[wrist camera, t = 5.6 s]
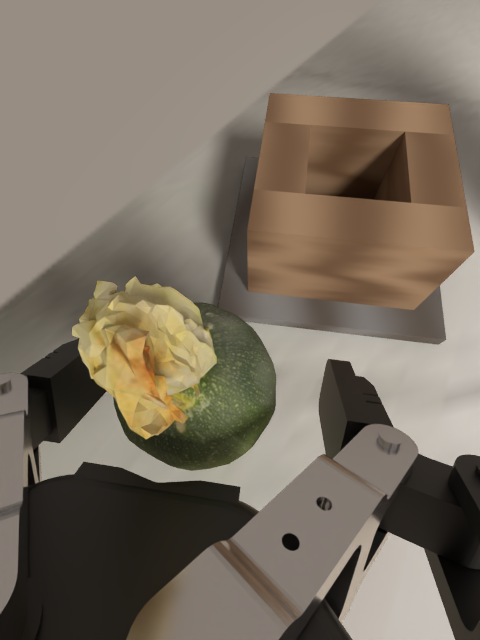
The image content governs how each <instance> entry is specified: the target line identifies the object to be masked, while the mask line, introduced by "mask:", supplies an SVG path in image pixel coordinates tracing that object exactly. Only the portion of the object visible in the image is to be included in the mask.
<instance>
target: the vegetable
mask: <svg viewBox="0 0 480 640" xmlns="http://www.w3.org/2000/svg"><path fill="white" fill-rule="evenodd" d="M117 287H118V286H117V285H116V284H114V283H113V282H105V281H97V285H96V289H95V291H94V293H93V294H94V298H93V299H89V305H88V306H87V308H86V310H85V313H84V314H83V315H82V316H81V317H79V321H80V323H78V324H76V325H75V326H73V327H72V336H75V337H78V338H79V344H78V350H79V352H80V355H81V358H82V361H83V363H84V364H85V365H86V366H87V367H88V369H89V372H90V376H91V379H94V381H95V382H96V383H97V384H98V385H99V386H101V387H102V388H104V389H105V390H106V391H108V392H109V393H110V394H111V395H112V396H113V398H114V405H115V409H116V412H117V416H118V418H119V421H120V423H121V426H122V428H123V430H124V433H125V435H126V436H127V437H128V439H129V440H130V441H131V442H132V443H134V444H135V445H136V446H137V447H139V448H140V449H142V450H143V451H145V452H147V453H148V454H150V455H152V456H153V457H155V458H156V459H158V460H160V461H162V462H164V463H166V464H168V465H170V466H173V467H176V468H180V469H186V470H191V471H192V470H201V469H209V468H213V467H218V466H222V465H226V464H229V463H231V462H233V461H234V460H236V459H237V458H239V457H240V456H242V455H243V454H245V453H246V452H247V451H248V450H249V449H250V448H251V447H253V445H254V444H255V442H256V441H257V440H258V438H259V437H260V435H261V434H262V432H263V431H264V429H265V428H266V426H267V425H268V423H269V421H270V419H271V417H272V415H273V413H274V411H275V406H276V373H275V369H274V365H273V362H272V360H271V358H270V356H269V354H268V352H267V350H266V348H265V346H264V344H263V343H262V341H261V339H260V337H259V336H258V335H257V333H256V332H255V331H254V329H253V328H252V327H251V326H249V325H248V324H247V323H246V322H245V321H243V320H242V319H241V318H240V317H239V316H237V315H235V314H234V313H231V312H229V311H226V310H224V309H221V308H218V307H216V306H213V305H210V304H207V303H193V302H192V301H190V300H189V299H187V298H186V297H185V296H183V295H182V294H180V293H179V292H178V291H177V290H175V289H173V288H171V287H161V286H160V285H159V284H158V283H157V284H153V285H144V284H140V282H139V281H138V279H137V278H136V276H135V277H133V278H132V279H131V280H129V281H128V282H127V284H126V287H125V291H121V292H117V293H116V290H117Z"/></svg>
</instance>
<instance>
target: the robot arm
mask: <svg viewBox="0 0 480 640" xmlns="http://www.w3.org/2000/svg"><path fill="white" fill-rule="evenodd" d="M78 344H79V338H78V339H77V340H74V341H71V342H69V343H66V344H63V345H62V346H60V347H59V348H57V349H56V350H54V351H53V353H50V354H48V355H47V356H46V357H45V358H43V359H41V360H40V361H38V362H37V363H35V364H34V365H32V366H31V367H29V368H28V369H26V370H25V371H24V372H22V373H21V374H18V373H3V374H0V640H352V638H351V637H350V635H349V634H348V633H347V631H346V630H345V628H344V627H343V625H342V622H343V620H344V618H345V617H346V615H347V613H348V611H349V609H350V606H351V604H352V602H353V600H354V597H355V595H356V593H357V591H358V589H359V587H360V585H361V583H362V581H363V579H364V578H365V576H366V574H367V572H368V571H369V569H370V567H371V566H372V564H373V562H374V560H375V559H376V557H377V555H378V553H379V552H380V550H381V548H382V547H383V545H384V543H385V541H386V540H387V538H388V536H389V535H390V533H392V534H394V535H396V536H398V537H401V538H403V539H405V540H407V541H409V542H412V543H414V544H416V545H418V546H420V547H423V548H424V550H425V553H426V555H427V558H428V561H429V564H430V567H431V570H432V573H433V576H434V579H435V582H436V585H437V588H438V591H439V593H440V596H441V599H442V602H443V605H444V608H445V611H446V614H447V617H448V620H449V623H450V626H451V629H452V631H453V634H454V637H455V640H480V456H476V455H461V456H459V457H458V458H457V459H456V461H455V463H454V465H453V467H452V466H449V465H446V464H444V463H441V462H438V461H435V460H432V459H430V458H427V457H425V456H422V455H420V454H418V448H417V446H416V444H415V442H414V441H413V440H412V439H411V438H410V437H409V436H408V435H406V434H405V433H403V432H402V431H400V430H398V429H396V428H394V427H393V425H392V423H391V421H390V419H389V417H388V415H387V413H386V411H385V408H384V406H383V405H382V402H381V400H380V398H379V397H378V394H377V392H376V390H375V388H374V386H373V385H372V384H371V383H370V382H369V381H368V380H366V379H365V378H364V377H359V376H355V373H354V371H353V368H352V366H351V363H350V362H348V361H340V360H332V359H328V361H327V363H326V367H325V372H324V377H323V383H322V388H321V393H320V398H319V416H320V422H321V428H322V434H323V440H324V446H325V452H326V455H325V454H323V455H321V456H319V457H318V458H317V459H316V460H315V461H313V462H312V463H311V464H310V465H309V466H308V467H307V468H306V469H305V470H304V471H303V472H302V473H301V474H300V475H298V476H297V477H296V478H295V479H294V480H293V481H292V482H291V483H290V484H289V485H288V486H287V487H286V488H284V489H283V490H282V491H281V492H280V493H279V494H278V495H277V496H276V497H275V498H274V499H273V500H272V501H271V502H269V503H268V504H267V505H266V506H265V507H264V508H263V509H262V510H261V511H260V512H259V511H257V510H256V509H255V508H253V507H251V506H249V505H248V504H246V503H243V502H241V501H239V494H240V487H237V486H231V485H225V484H219V483H213V482H206V481H184V482H166V483H157V482H153V481H151V480H148V479H146V478H144V477H141V476H139V475H137V474H134V473H132V472H130V471H127V470H125V469H123V468H119V467H113V466H107V465H100V464H94V463H88V462H83V464H82V465H81V466H80V468H79V469H78V470H77V472H76V473H75V474H73V475H65V476H59V477H55V478H50V479H47V480H44V481H42V477H41V455H40V448H39V444H40V443H41V442H42V441H49V442H56V443H60V442H61V441H62V440H63V439H64V438H65V437H66V436H67V435H68V434H69V432H70V431H71V430H72V429H73V428H74V427H75V426H76V425H77V423H78V422H79V421H80V420H81V419H82V418H83V417H84V416H85V415H86V413H87V412H88V411H89V410H90V409H91V408H92V407H93V406H94V405H95V403H96V402H97V401H98V400H99V399H100V398H101V397H102V396H103V394H104V393H105V392H106V390H105V389H104V388H102V387H101V386H99V385H98V384H97V383H96V382H95V381H94V379H91V376H90V372H89V369H88V367H87V366H86V365H85V364H84V363H83V361H82V358H81V355H80V352H79V350H78Z"/></svg>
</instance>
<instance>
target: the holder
mask: <svg viewBox="0 0 480 640" xmlns="http://www.w3.org/2000/svg"><path fill="white" fill-rule="evenodd" d="M473 253H474V246H473V241H472V235H471V229H470V224H469V218H468V212H467V206H466V201H465V195H464V189H463V184H462V178H461V172H460V166H459V161H458V155H457V149H456V144H455V138H454V132H453V127H452V121H451V115H450V109H449V104H434V103H418V102H402V101H386V100H370V99H354V98H338V97H322V96H306V95H290V94H274V93H270V96H269V102H268V108H267V114H266V120H265V126H264V132H263V138H262V144H261V150H260V156H259V158H255V157H246V161H245V166H244V171H243V177H242V182H241V187H240V193H239V198H238V203H237V208H236V214H235V219H234V224H233V230H232V235H231V240H230V246H229V251H228V256H227V261H226V267H225V272H224V277H223V283H222V288H221V293H220V299H219V304H218V308H221V309H224V310H226V311H229V312H231V313H234V314H235V315H237V316H239V317H240V318H241V319H242V320H243V321H246V322H255V323H263V324H271V325H280V326H288V327H297V328H305V329H313V330H322V331H330V332H338V333H347V334H355V335H364V336H372V337H380V338H389V339H397V340H405V341H414V342H422V343H431V344H440V343H441V342H443V341H444V340H446V335H445V327H444V318H443V310H442V301H441V293H440V284H441V283H443V282H444V281H445V280H446V279H447V278H448V277H449V276H450V275H451V274H452V273H453V272H454V271H455V270H456V269H457V268H458V267H459V266H460V265H461V264H462V263H463V262H464V261H465V260H466V259H467V258H468V257H469V256H471V255H472V254H473Z"/></svg>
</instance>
